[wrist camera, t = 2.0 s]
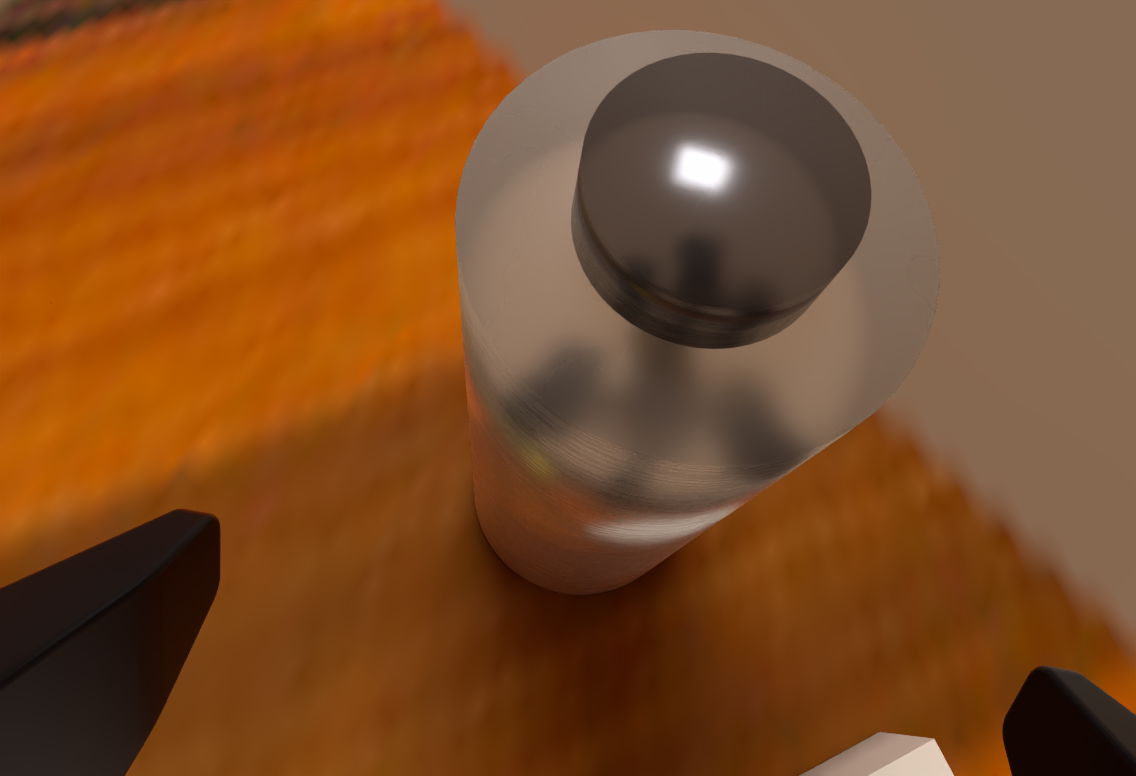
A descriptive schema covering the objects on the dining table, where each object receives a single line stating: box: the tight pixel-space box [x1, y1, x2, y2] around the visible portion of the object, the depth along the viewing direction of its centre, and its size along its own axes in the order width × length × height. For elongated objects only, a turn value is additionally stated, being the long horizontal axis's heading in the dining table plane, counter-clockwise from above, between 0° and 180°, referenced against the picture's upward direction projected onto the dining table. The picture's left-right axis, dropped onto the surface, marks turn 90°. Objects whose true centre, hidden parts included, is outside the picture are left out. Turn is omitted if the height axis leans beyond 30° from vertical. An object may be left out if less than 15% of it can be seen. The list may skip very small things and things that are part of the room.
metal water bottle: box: [455, 30, 940, 595], centre depth 14 cm, size 5×5×14 cm
